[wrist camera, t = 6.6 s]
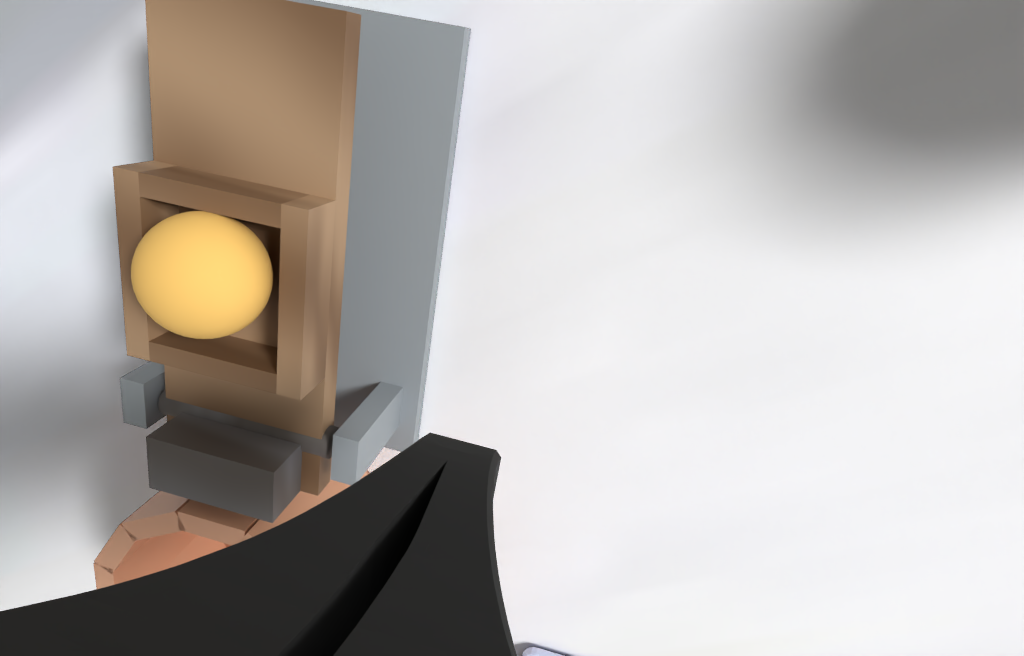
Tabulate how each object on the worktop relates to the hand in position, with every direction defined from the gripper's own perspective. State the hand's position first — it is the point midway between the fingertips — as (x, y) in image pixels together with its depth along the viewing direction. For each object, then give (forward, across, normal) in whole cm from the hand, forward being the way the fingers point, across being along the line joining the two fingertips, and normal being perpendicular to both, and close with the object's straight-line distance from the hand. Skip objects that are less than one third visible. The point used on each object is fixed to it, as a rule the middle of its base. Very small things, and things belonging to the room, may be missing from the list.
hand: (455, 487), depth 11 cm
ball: (+4, +8, -1) cm, 9 cm away
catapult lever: (+7, +8, -1) cm, 11 cm away
